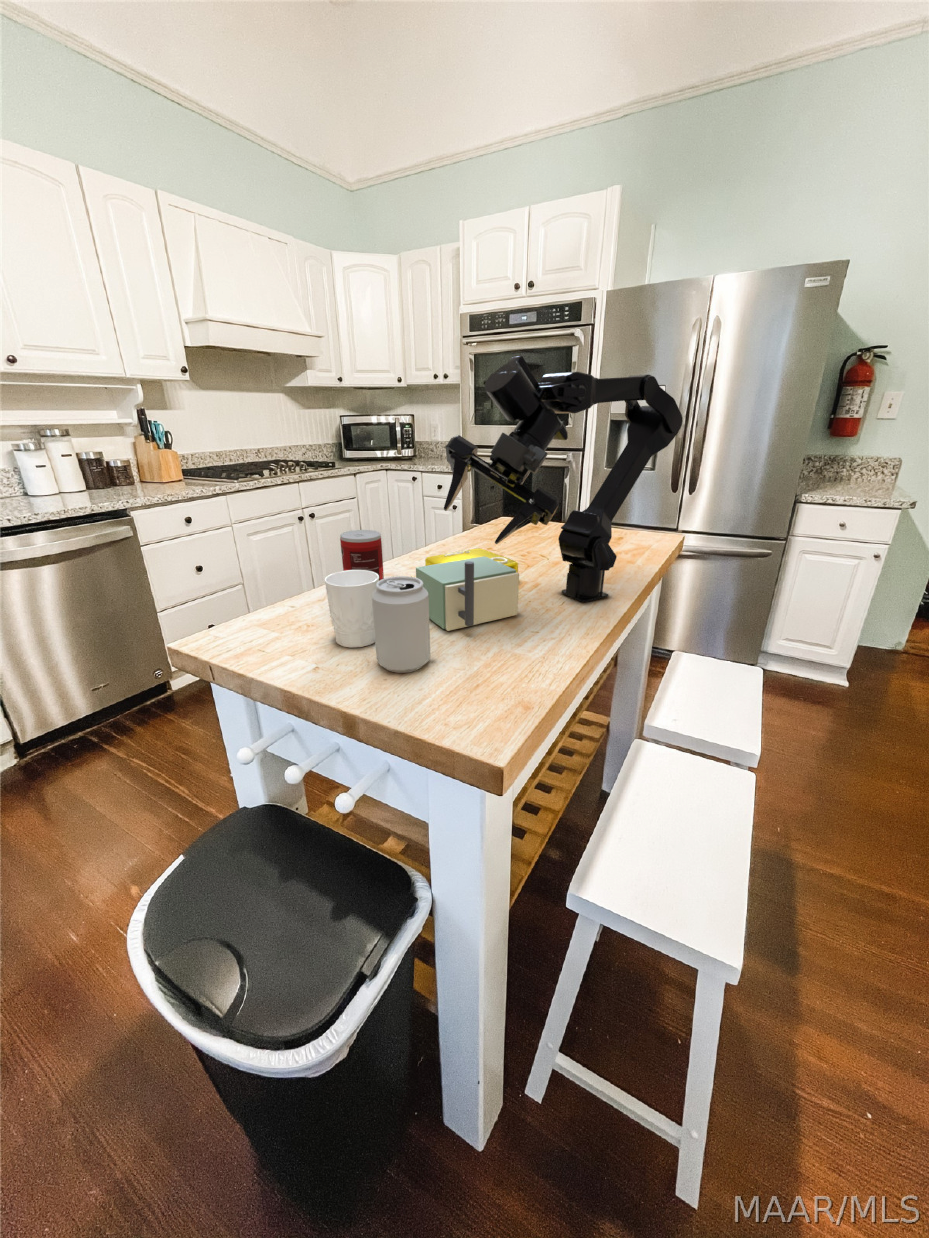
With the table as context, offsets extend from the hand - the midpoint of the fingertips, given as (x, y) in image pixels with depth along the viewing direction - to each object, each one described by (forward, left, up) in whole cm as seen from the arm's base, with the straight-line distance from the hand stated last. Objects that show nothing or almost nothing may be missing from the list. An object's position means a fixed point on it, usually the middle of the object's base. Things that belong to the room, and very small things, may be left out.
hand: (470, 526), depth 75 cm
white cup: (+17, -5, -17) cm, 25 cm away
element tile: (-13, -21, -17) cm, 30 cm away
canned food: (+8, -27, -17) cm, 33 cm away
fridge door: (-3, +1, -16) cm, 17 cm away
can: (+14, +6, -17) cm, 23 cm away
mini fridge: (-3, -6, -17) cm, 18 cm away
